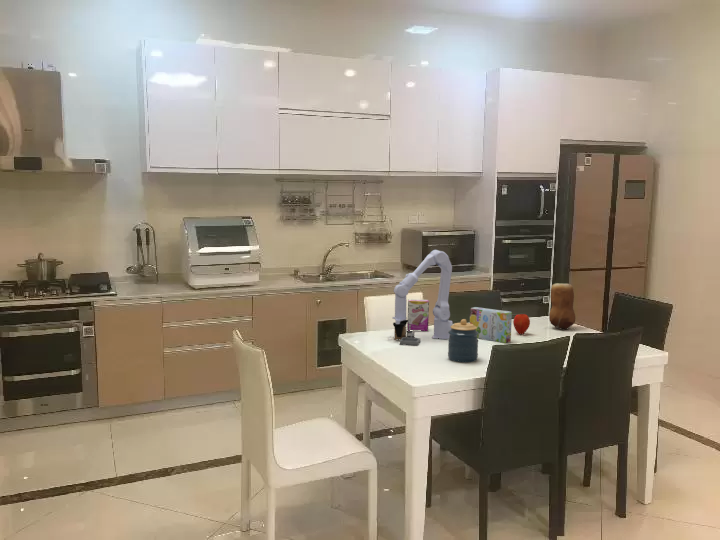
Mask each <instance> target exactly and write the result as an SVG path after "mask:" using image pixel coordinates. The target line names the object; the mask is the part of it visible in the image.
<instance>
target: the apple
mask: <svg viewBox="0 0 720 540" xmlns="http://www.w3.org/2000/svg"><path fill="white" fill-rule="evenodd" d="M512 324H513V327H514V329H515V331H516V332H517V335H524V334H525V333H526V332H527V330H528V329H529V327H530V325H531V319H530V317H529V316H528V315H527V314H525V313H524V314H523V313H521V314H520V313H519V314H516V315H515V316H514V318H513V321H512Z"/></svg>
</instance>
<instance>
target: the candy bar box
mask: <svg viewBox="0 0 720 540" xmlns="http://www.w3.org/2000/svg"><path fill="white" fill-rule="evenodd" d="M429 308H430V300H429V299H413V298H411V299H410V298H409V299H407V320H408V322H407V324H406V331H407V330H421V331H420V332H429V316H430V314H429V313H430V312H429V311H430V309H429Z"/></svg>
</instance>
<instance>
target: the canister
mask: <svg viewBox="0 0 720 540" xmlns="http://www.w3.org/2000/svg"><path fill="white" fill-rule="evenodd" d="M467 321H468V320H467V319H466V318H463V319H461V320H460V322H454V323H453V325H452V326H451V330H450V331H449V332H448V333H449V334H450V336H449V339H447V340H448V348H447V349H448V351H447V356H448V360H450V361H452V362H456V363H473V362H476V361H477V360H478V356H479V353H478V349H479V346H478V345H479V338H477V335H478V334H479V333H478V332H477V331H476V329H477V327H476V326H474V325H473V324H471V323H470V322H467Z"/></svg>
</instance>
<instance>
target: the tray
mask: <svg viewBox="0 0 720 540" xmlns="http://www.w3.org/2000/svg"><path fill="white" fill-rule="evenodd" d="M419 344H421V338H420V337H415V338H409V337H407V336H406V337H403V338H402V339H401V340H399V345H400V346H415V347H416V346H417V347H418V346H419Z"/></svg>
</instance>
